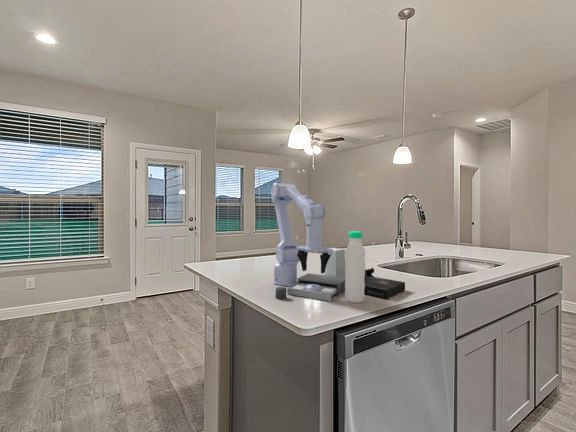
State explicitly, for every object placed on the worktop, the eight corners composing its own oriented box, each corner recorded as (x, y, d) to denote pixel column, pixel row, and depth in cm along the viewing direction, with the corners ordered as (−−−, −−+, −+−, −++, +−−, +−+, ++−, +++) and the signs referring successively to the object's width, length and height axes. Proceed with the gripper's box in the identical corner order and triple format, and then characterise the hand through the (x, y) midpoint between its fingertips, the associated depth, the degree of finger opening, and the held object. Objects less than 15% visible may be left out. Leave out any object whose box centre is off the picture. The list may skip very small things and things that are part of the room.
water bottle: (342, 297, 118) (343, 230, 117) (360, 297, 119) (362, 230, 118) (347, 303, 111) (348, 232, 110) (367, 303, 112) (368, 232, 111)
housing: (297, 289, 130) (297, 278, 129) (308, 283, 139) (308, 273, 139) (339, 295, 121) (339, 283, 121) (348, 288, 131) (348, 278, 131)
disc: (303, 291, 120) (303, 286, 120) (309, 288, 125) (309, 283, 125) (317, 293, 118) (317, 288, 118) (322, 289, 123) (322, 285, 123)
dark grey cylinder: (273, 298, 117) (273, 288, 117) (278, 295, 120) (278, 286, 120) (283, 299, 115) (283, 290, 115) (288, 297, 118) (288, 287, 118)
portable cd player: (405, 291, 129) (405, 281, 128) (386, 301, 116) (387, 290, 116) (368, 284, 140) (368, 275, 139) (347, 292, 127) (347, 282, 127)
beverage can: (374, 285, 143) (351, 281, 151) (375, 267, 144) (352, 265, 152) (363, 284, 136) (340, 281, 145) (364, 266, 137) (341, 264, 146)
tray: (287, 294, 122) (287, 287, 122) (299, 287, 131) (299, 281, 131) (330, 301, 113) (330, 294, 113) (340, 293, 123) (340, 287, 123)
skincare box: (346, 282, 141) (346, 249, 140) (335, 284, 137) (336, 250, 137) (333, 278, 148) (333, 247, 147) (323, 280, 144) (323, 247, 144)
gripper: (292, 236, 121) (291, 271, 121) (328, 238, 114) (327, 276, 114) (300, 234, 127) (300, 268, 128) (334, 236, 120) (334, 272, 121)
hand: (313, 271), depth 121 cm, fingers open, 7 cm apart
